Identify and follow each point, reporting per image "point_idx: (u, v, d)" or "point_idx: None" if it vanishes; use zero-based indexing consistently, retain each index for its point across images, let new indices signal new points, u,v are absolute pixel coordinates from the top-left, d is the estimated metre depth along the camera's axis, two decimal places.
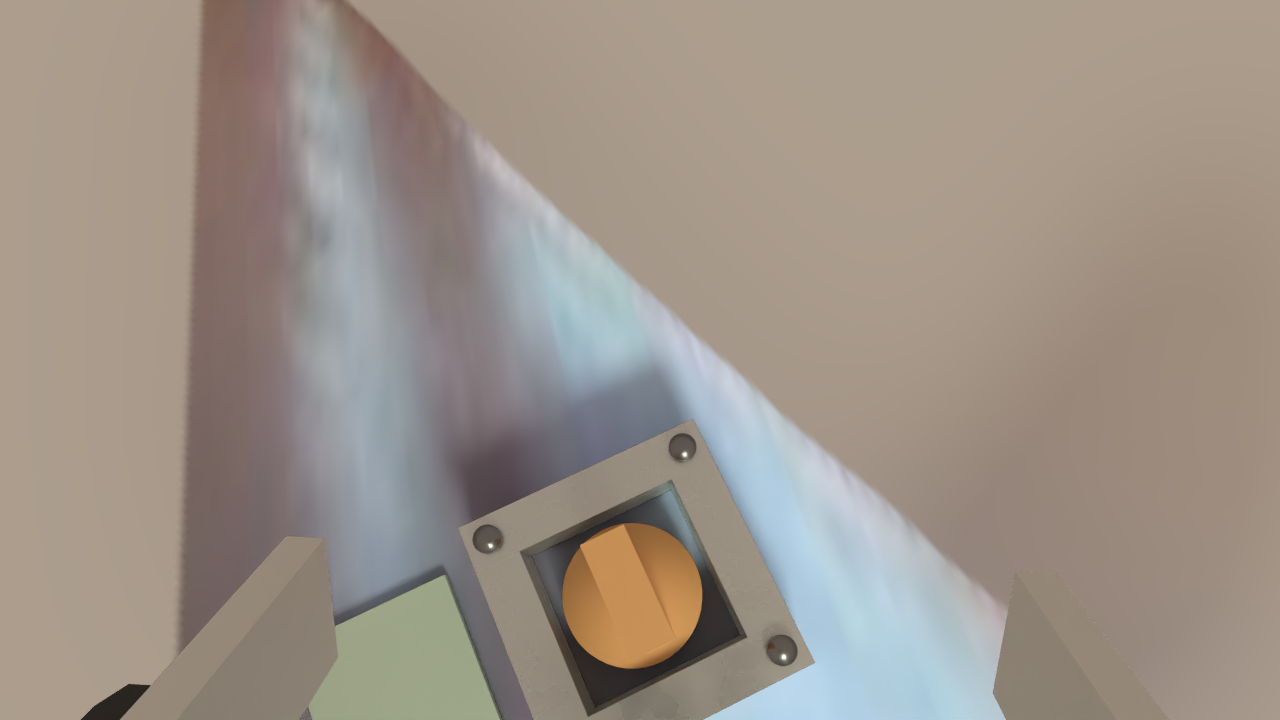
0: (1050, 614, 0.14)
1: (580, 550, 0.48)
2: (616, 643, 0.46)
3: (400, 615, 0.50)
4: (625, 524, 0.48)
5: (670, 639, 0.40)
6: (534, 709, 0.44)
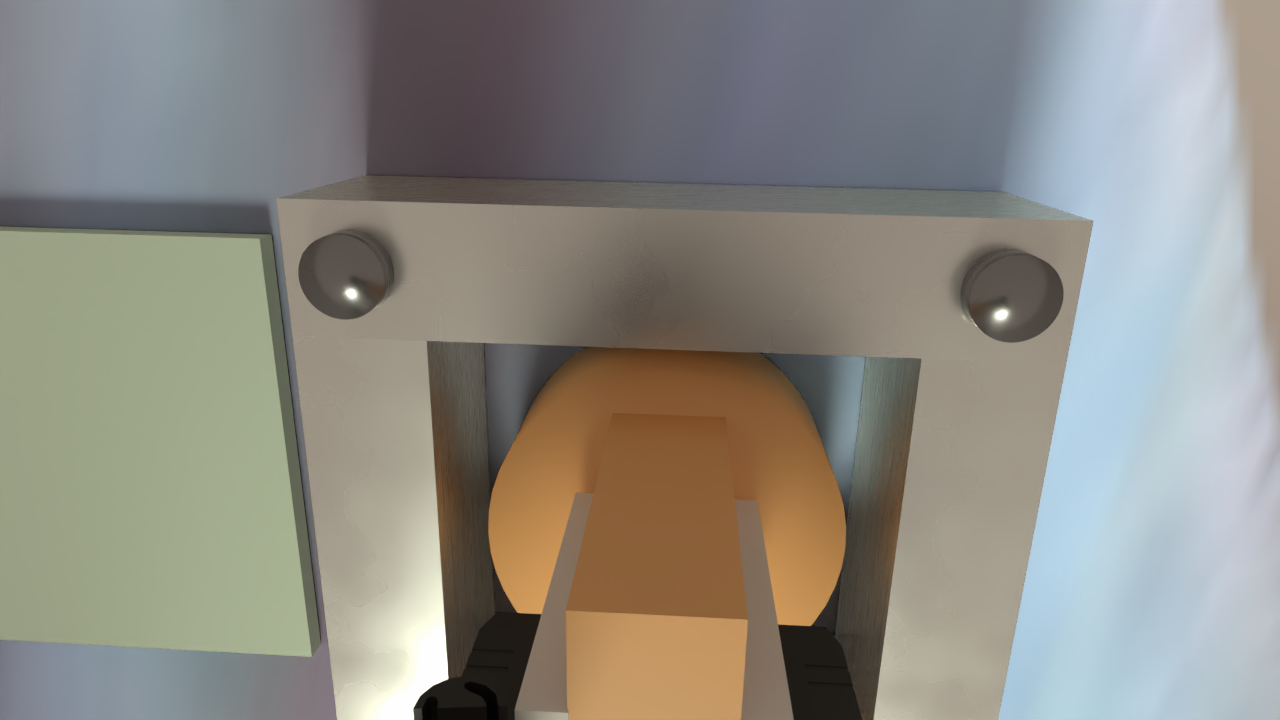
0: None
1: (589, 390, 0.17)
2: None
3: (135, 278, 0.20)
4: (731, 386, 0.17)
5: None
6: (341, 673, 0.19)
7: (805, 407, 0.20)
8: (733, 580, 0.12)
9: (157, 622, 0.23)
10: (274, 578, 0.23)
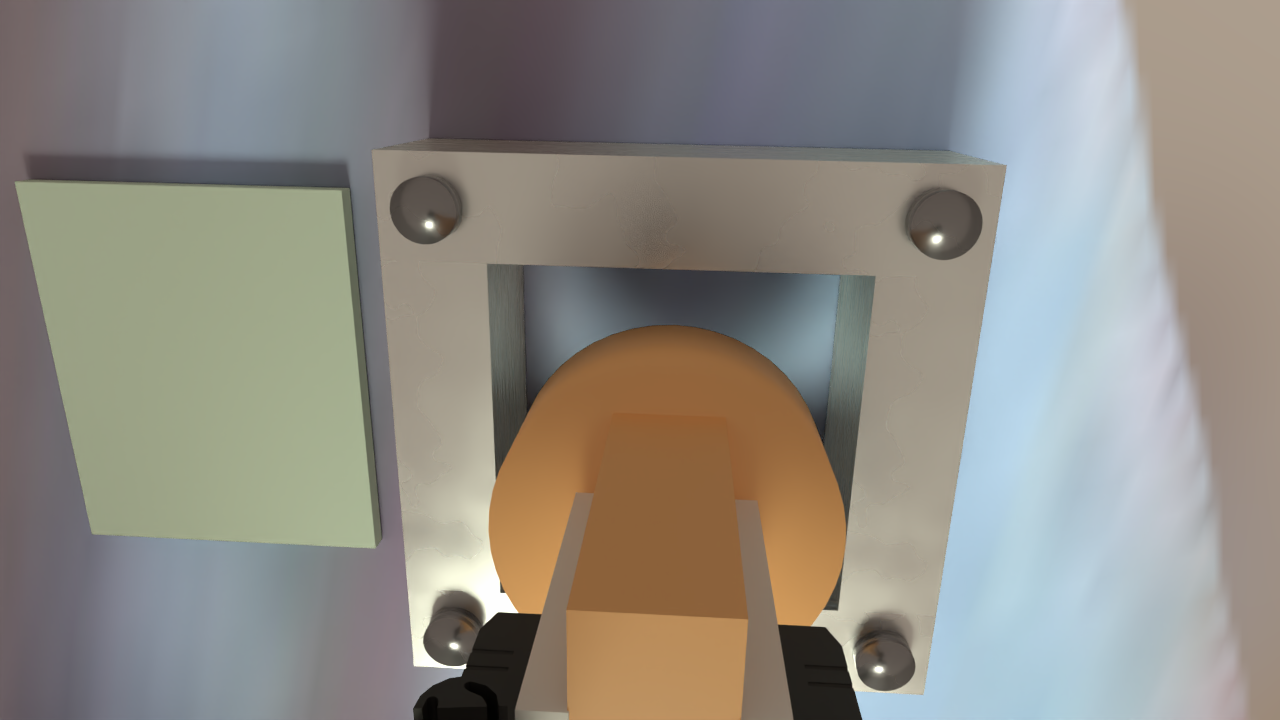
0: None
1: (589, 390, 0.17)
2: None
3: (238, 224, 0.25)
4: (731, 386, 0.17)
5: None
6: (411, 541, 0.23)
7: (805, 407, 0.20)
8: (733, 580, 0.12)
9: (245, 519, 0.28)
10: (345, 480, 0.27)
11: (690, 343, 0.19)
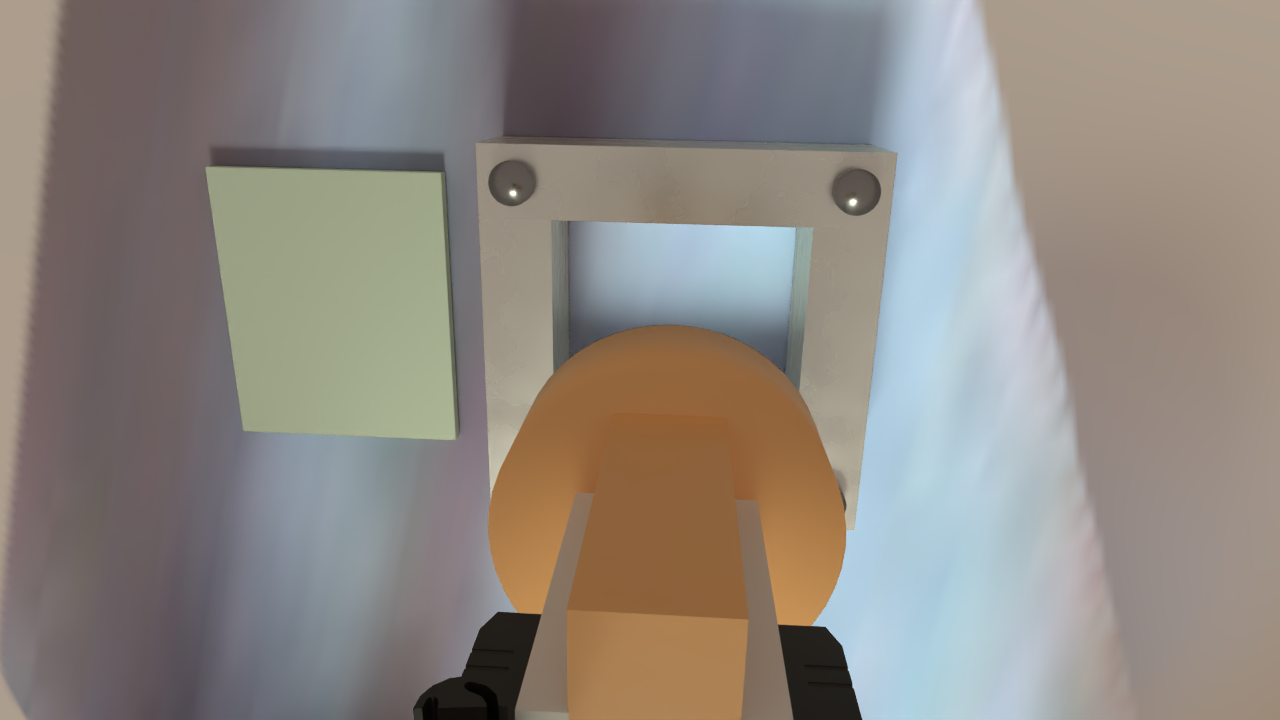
0: None
1: (590, 390, 0.17)
2: None
3: (365, 197, 0.34)
4: (732, 386, 0.17)
5: None
6: (493, 419, 0.33)
7: (805, 407, 0.20)
8: (734, 580, 0.12)
9: (359, 418, 0.38)
10: (435, 388, 0.37)
11: (690, 343, 0.19)
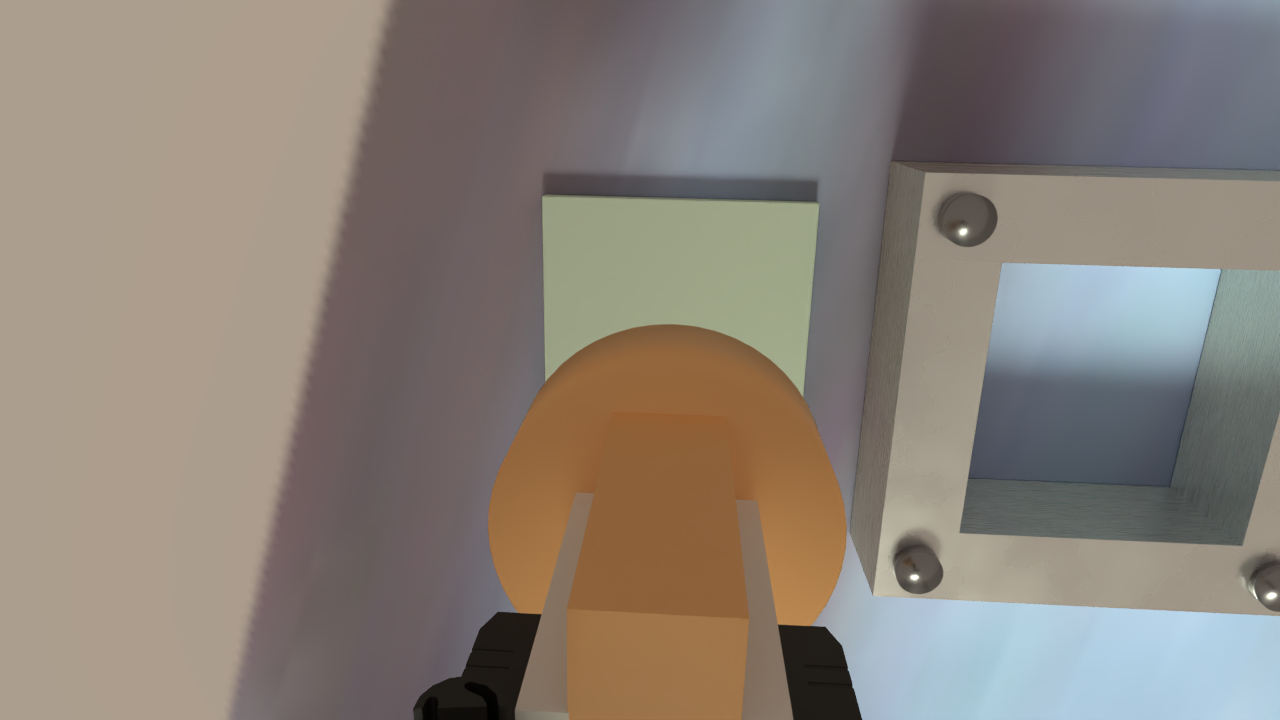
0: None
1: (590, 389, 0.17)
2: None
3: (726, 231, 0.30)
4: (732, 385, 0.17)
5: None
6: (893, 490, 0.28)
7: (806, 407, 0.20)
8: (734, 579, 0.12)
9: None
10: None
11: (691, 342, 0.19)
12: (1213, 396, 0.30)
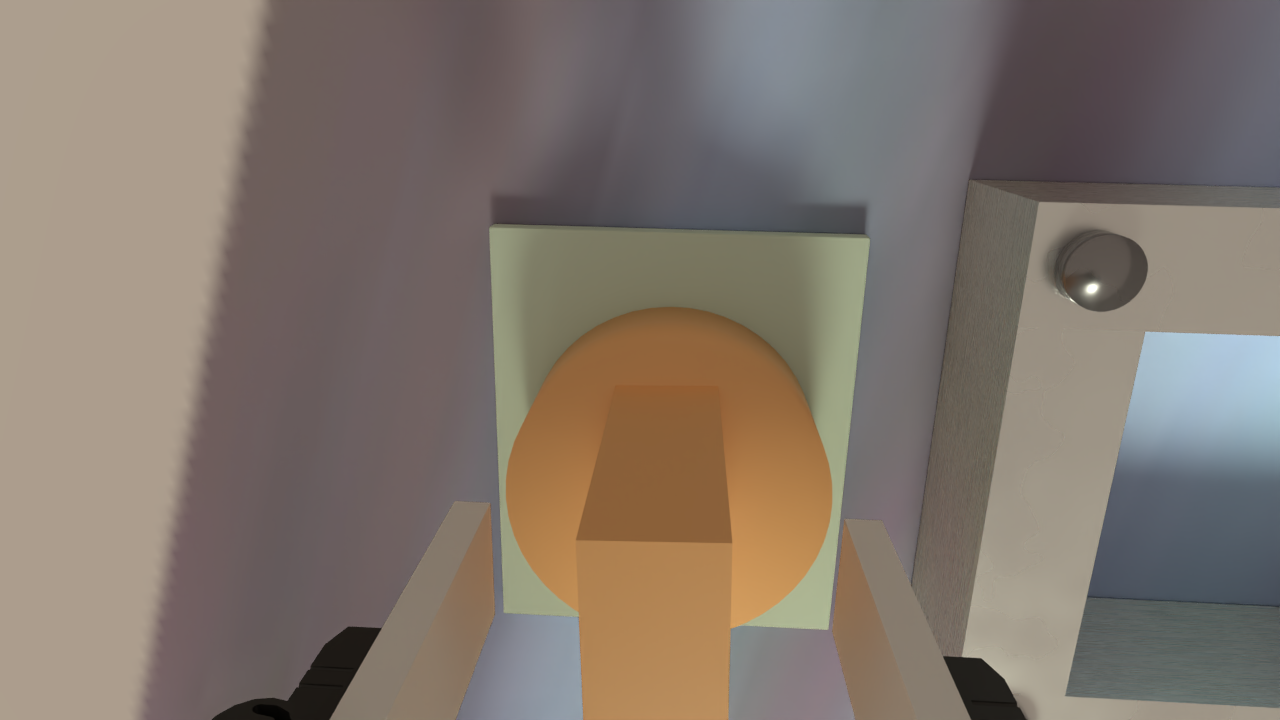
0: (862, 553, 0.15)
1: (593, 365, 0.19)
2: None
3: (741, 275, 0.22)
4: (722, 357, 0.19)
5: None
6: (974, 639, 0.20)
7: (794, 378, 0.22)
8: (721, 514, 0.13)
9: None
10: None
11: (685, 321, 0.21)
12: None
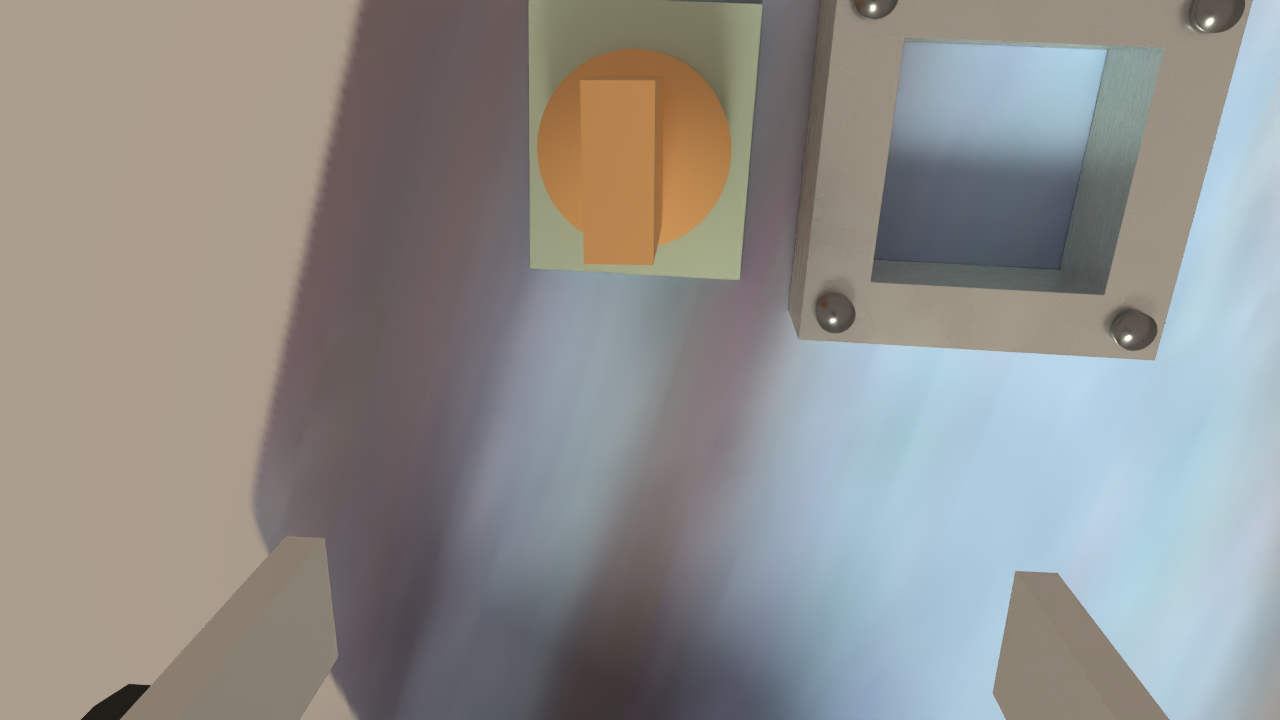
0: (1050, 614, 0.14)
1: (591, 62, 0.33)
2: None
3: (684, 28, 0.35)
4: (666, 56, 0.32)
5: (646, 262, 0.28)
6: (815, 242, 0.34)
7: (714, 93, 0.35)
8: (652, 79, 0.27)
9: None
10: (726, 226, 0.38)
11: None
12: (1092, 180, 0.36)
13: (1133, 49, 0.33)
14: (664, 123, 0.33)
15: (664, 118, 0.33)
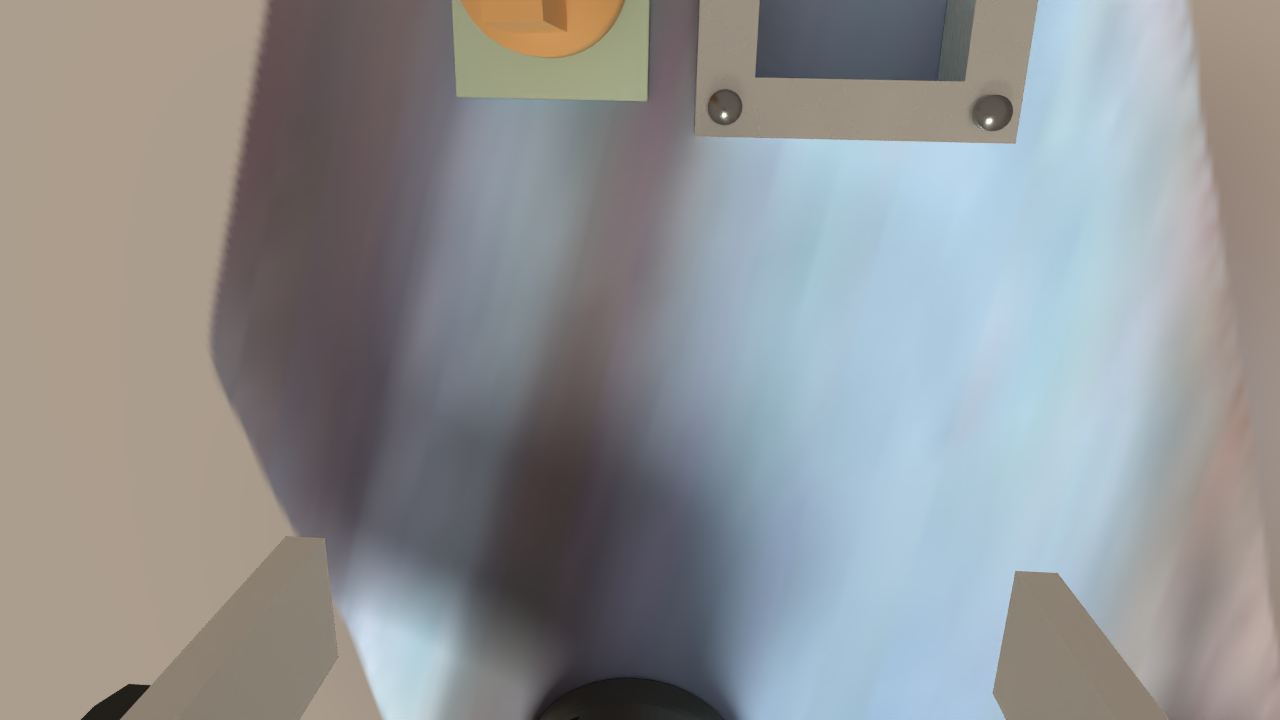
0: (1051, 615, 0.14)
1: None
2: None
3: None
4: None
5: (537, 18, 0.32)
6: (703, 40, 0.38)
7: None
8: None
9: (562, 81, 0.42)
10: (632, 48, 0.42)
11: None
12: None
13: None
14: None
15: None
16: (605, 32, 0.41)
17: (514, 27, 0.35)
